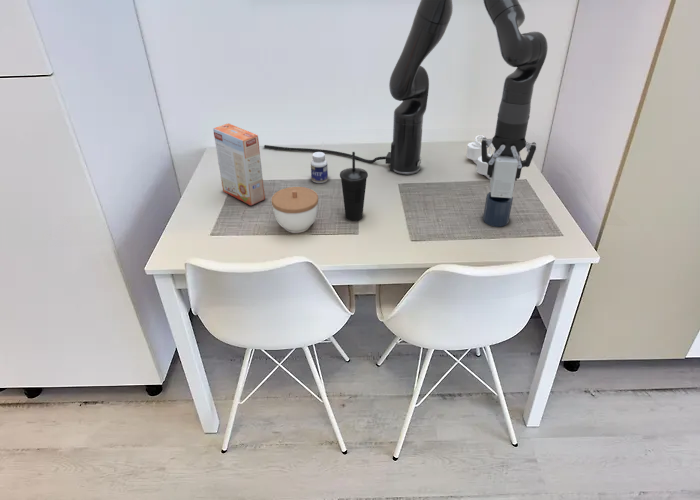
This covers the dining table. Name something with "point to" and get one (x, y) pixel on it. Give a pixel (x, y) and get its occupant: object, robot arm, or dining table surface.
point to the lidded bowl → (295, 208)
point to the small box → (503, 177)
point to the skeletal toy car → (478, 155)
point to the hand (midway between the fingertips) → (502, 177)
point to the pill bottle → (319, 168)
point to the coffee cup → (497, 210)
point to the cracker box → (239, 163)
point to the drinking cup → (353, 191)
